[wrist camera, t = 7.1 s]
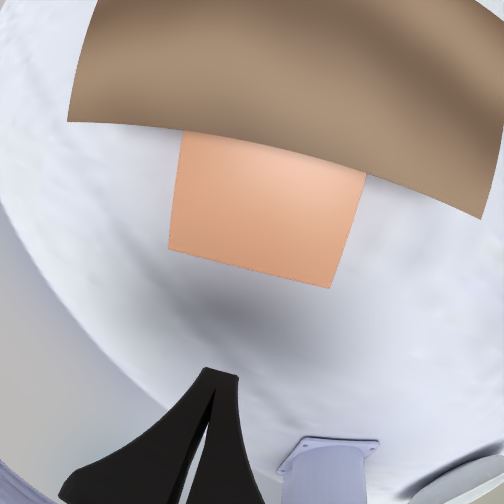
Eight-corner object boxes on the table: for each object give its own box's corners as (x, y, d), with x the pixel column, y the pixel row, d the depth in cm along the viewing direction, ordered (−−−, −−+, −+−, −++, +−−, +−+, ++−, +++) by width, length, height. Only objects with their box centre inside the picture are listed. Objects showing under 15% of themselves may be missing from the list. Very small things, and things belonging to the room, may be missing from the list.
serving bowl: (375, 498, 29) (377, 530, 22) (482, 435, 20) (495, 473, 14) (435, 494, 30) (439, 518, 24) (517, 440, 22) (526, 465, 16)
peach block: (322, 259, 14) (329, 288, 11) (190, 227, 14) (168, 248, 12) (372, 69, 10) (392, 53, 7) (227, 37, 10) (211, 15, 8)
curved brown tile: (428, 192, 12) (480, 219, 8) (127, 121, 13) (66, 121, 8) (456, 44, 8) (505, 23, 4) (166, -20, 9) (126, -58, 5)
